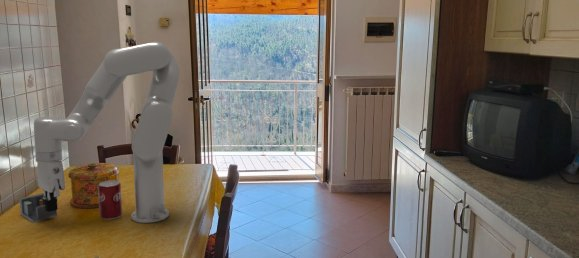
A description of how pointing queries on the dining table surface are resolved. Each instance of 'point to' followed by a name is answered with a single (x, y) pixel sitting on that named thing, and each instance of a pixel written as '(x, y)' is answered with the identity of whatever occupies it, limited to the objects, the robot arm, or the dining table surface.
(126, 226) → the dining table surface
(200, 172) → the dining table surface
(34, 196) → the grey desk caddy
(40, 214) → the blue-grey small box
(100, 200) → the soda can
